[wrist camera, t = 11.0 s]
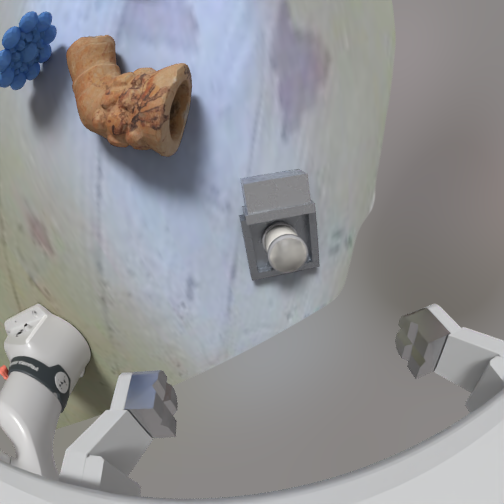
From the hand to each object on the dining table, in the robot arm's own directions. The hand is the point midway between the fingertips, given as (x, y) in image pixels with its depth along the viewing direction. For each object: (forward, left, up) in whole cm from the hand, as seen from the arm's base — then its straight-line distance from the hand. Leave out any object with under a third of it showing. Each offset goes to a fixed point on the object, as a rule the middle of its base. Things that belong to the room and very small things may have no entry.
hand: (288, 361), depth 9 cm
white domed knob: (+5, -9, -30) cm, 32 cm away
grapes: (-24, +27, -31) cm, 48 cm away
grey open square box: (+5, -7, -31) cm, 32 cm away
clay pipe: (-10, +15, -31) cm, 36 cm away
